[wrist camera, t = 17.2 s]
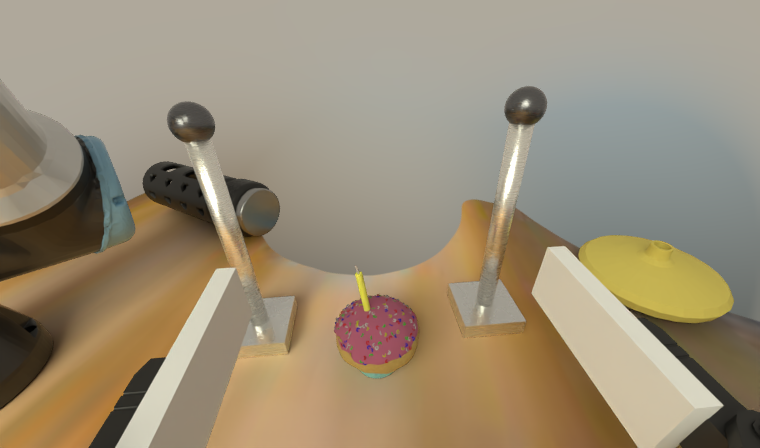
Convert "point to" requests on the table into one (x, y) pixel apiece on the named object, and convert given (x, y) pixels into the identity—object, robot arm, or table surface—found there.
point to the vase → (657, 278)
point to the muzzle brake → (185, 195)
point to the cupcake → (376, 333)
